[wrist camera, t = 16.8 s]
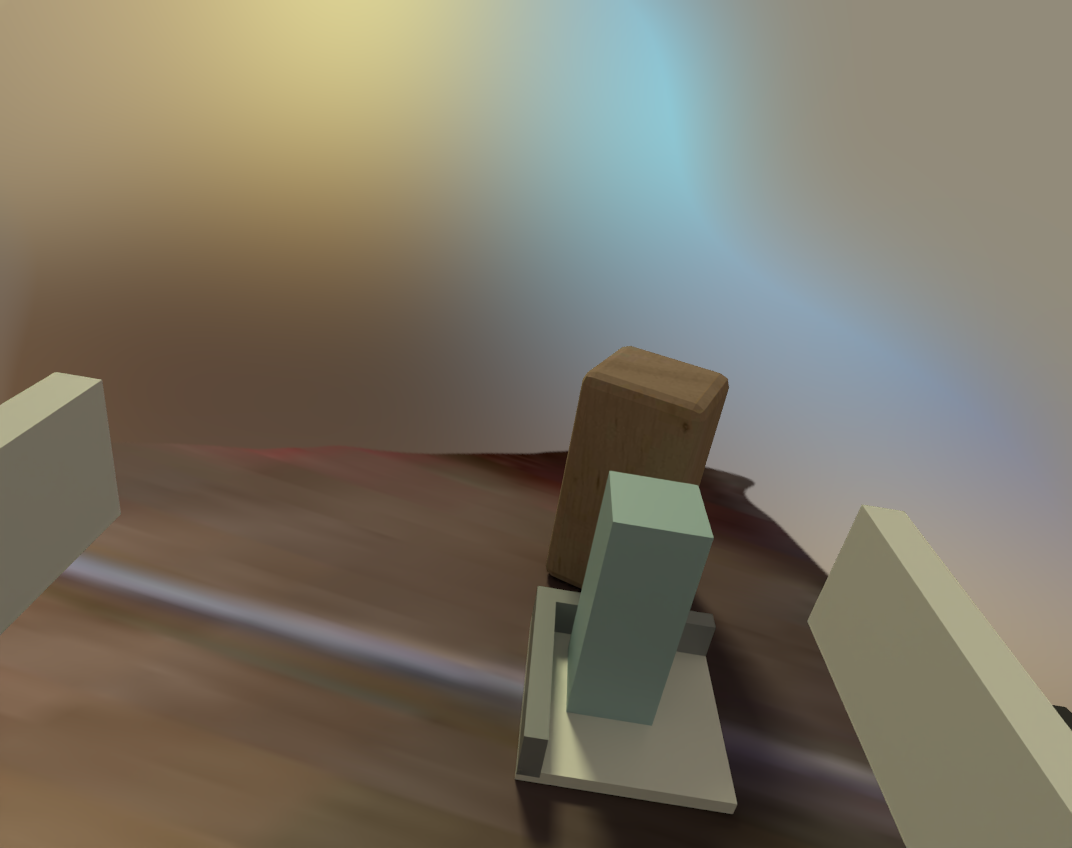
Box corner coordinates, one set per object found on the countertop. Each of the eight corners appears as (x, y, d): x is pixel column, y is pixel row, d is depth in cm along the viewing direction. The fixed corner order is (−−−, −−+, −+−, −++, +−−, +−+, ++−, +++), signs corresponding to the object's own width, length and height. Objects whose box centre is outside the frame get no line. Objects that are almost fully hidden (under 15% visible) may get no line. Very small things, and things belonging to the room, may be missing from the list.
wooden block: (644, 622, 58) (705, 412, 49) (540, 575, 62) (580, 371, 53) (676, 562, 66) (734, 373, 58) (583, 524, 70) (624, 340, 61)
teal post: (566, 712, 47) (613, 521, 40) (567, 648, 53) (609, 470, 46) (651, 725, 47) (713, 538, 40) (644, 660, 53) (698, 485, 46)
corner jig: (514, 779, 43) (523, 736, 42) (530, 624, 56) (537, 585, 54) (732, 814, 43) (751, 772, 42) (699, 651, 56) (712, 614, 54)
